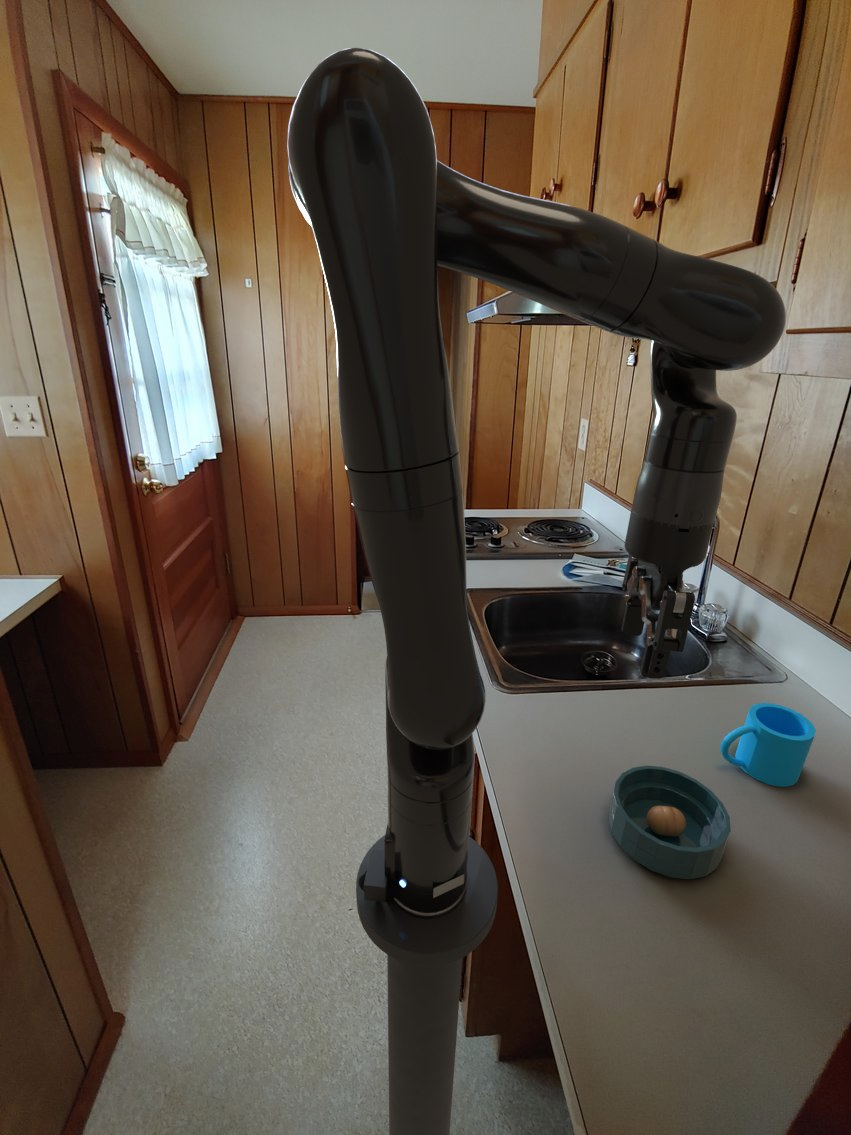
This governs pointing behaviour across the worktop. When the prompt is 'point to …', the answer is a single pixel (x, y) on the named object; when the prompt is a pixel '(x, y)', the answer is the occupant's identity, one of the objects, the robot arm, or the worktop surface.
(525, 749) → the worktop surface
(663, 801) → the bowl
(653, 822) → the bread
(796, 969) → the worktop surface
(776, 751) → the mug
